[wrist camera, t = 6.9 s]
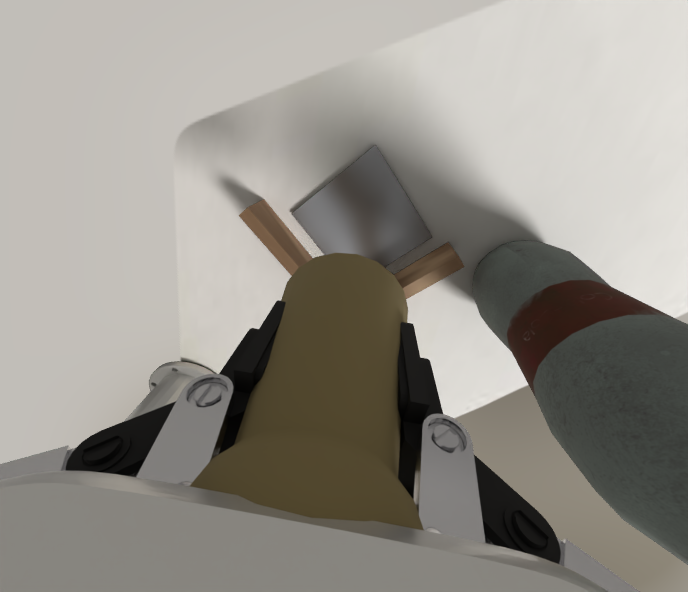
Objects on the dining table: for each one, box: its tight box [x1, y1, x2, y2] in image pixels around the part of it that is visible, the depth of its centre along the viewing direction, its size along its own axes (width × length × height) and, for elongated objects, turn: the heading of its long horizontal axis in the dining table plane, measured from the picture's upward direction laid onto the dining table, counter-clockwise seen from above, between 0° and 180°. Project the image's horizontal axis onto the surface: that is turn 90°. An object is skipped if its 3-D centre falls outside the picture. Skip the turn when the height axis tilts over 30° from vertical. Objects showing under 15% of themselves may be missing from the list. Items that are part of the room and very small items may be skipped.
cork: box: [190, 253, 424, 530], centre depth 9 cm, size 6×6×11 cm
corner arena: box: [239, 145, 465, 299], centre depth 26 cm, size 14×15×4 cm
